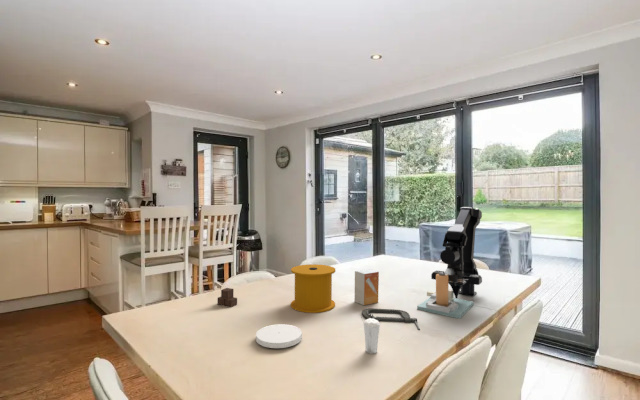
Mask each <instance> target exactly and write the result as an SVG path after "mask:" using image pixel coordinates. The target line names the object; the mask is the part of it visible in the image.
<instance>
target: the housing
mask: <svg viewBox="0 0 640 400" xmlns="http://www.w3.org/2000/svg"><path fill="white" fill-rule="evenodd" d="M435 293H436V291H435ZM473 305H474V301H471V300H465V299H461V298H455V297H454V300H452V301H448V307H445V306H440V305H436V294H432V295H431V296H429V297H428V298H427V299H425V301H422V302H421V303H420V304H418V305H417V306H416V307H417V308H416V309H417V310H420V311H422V312H424V311H425V312H429V313H432V314H438V315H441V316H442V315H443V316H446V317H452V318H455V319H461V318H462V317H463V316H464V315H465V314H466V313H467V312H468V311H469V310H470V309H471V308H472V307H473Z"/></svg>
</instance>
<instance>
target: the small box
mask: <svg viewBox="0 0 640 400" xmlns="http://www.w3.org/2000/svg"><path fill="white" fill-rule="evenodd" d="M379 273H380V272H379V271H377V270H373V269H371V268H367V269H360V270H355V271H354V302H355V303H357V304H359V305H362V306H367V305H368V306H369V305H372V304H377V303H379V285H380V284H379V280H380V279H379V278H380V277H379V275H380V274H379Z"/></svg>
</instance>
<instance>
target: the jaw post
mask: <svg viewBox="0 0 640 400" xmlns="http://www.w3.org/2000/svg"><path fill="white" fill-rule="evenodd" d="M448 289H449V283H448V275H446V274H445V273H443V272H439V274H436V280H435V292H436V305H440V306H445V307H448Z"/></svg>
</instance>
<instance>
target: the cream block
mask: <svg viewBox="0 0 640 400" xmlns="http://www.w3.org/2000/svg"><path fill="white" fill-rule="evenodd" d="M435 292H436V291H435ZM435 292H434V291H427V292H426V296H427V297H431V295H432V294H436V293H435ZM454 298H455V295H454V292H453V290H452V288H451V289H449V288H448V301H452V300H454Z"/></svg>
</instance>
